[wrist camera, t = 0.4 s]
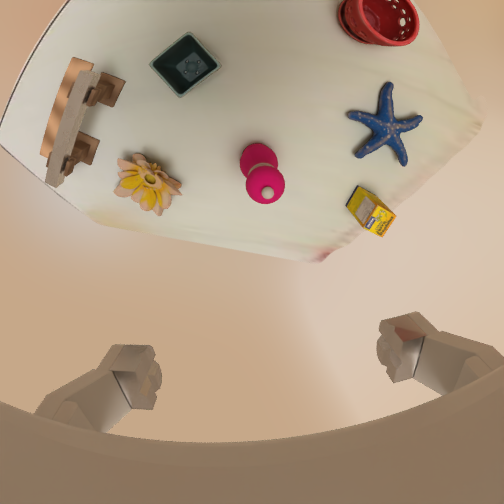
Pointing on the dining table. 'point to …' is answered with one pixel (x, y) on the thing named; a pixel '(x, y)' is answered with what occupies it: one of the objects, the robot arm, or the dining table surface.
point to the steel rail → (70, 126)
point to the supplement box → (370, 211)
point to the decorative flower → (146, 184)
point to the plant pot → (379, 21)
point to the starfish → (385, 126)
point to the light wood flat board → (61, 103)
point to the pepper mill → (262, 174)
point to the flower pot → (184, 64)
